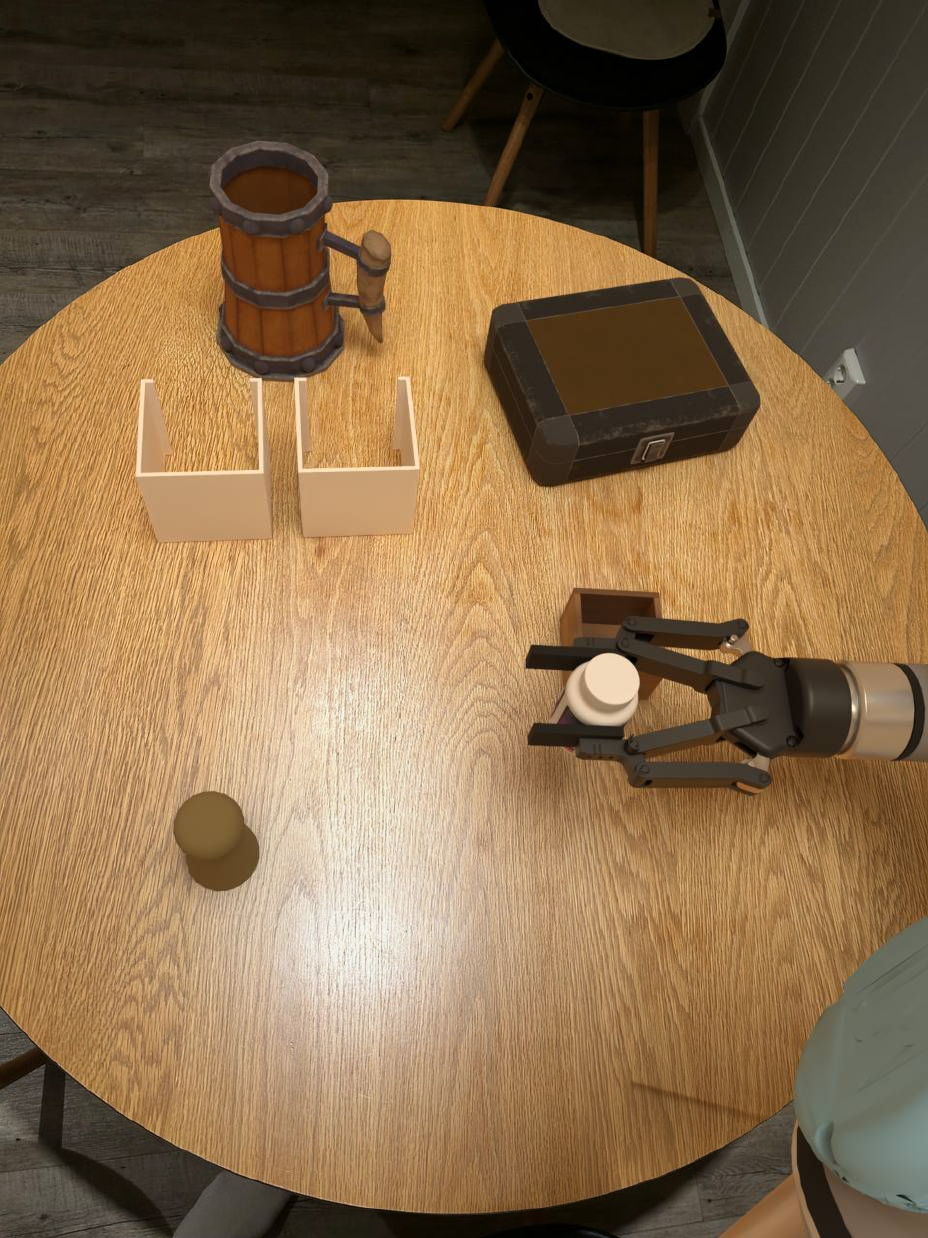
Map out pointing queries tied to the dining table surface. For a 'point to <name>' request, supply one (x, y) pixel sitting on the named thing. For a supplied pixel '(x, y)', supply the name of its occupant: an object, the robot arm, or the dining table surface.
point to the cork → (216, 841)
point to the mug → (286, 264)
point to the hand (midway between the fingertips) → (530, 694)
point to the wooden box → (607, 620)
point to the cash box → (617, 379)
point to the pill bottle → (598, 694)
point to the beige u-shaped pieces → (244, 496)
